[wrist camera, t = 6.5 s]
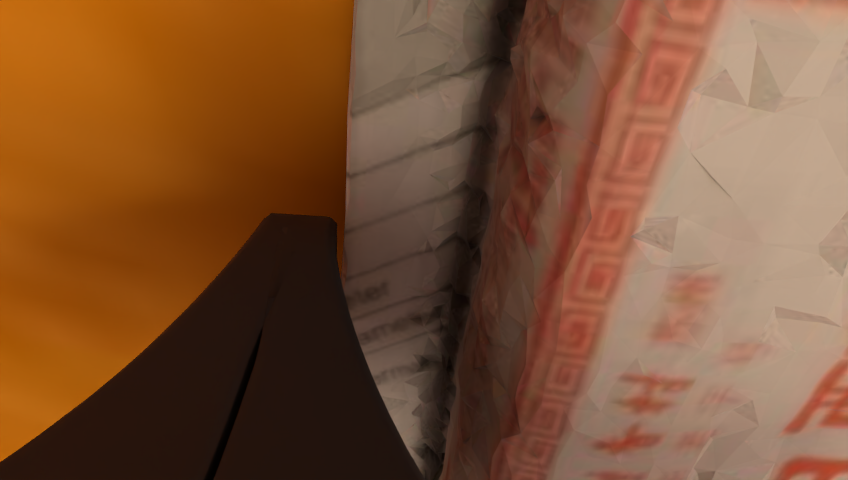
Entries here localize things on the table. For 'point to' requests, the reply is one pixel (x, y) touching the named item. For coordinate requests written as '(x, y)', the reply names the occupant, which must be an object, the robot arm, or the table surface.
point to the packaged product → (603, 235)
